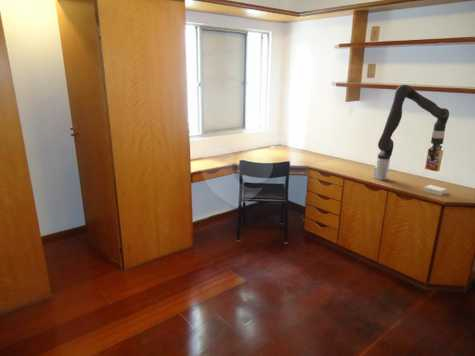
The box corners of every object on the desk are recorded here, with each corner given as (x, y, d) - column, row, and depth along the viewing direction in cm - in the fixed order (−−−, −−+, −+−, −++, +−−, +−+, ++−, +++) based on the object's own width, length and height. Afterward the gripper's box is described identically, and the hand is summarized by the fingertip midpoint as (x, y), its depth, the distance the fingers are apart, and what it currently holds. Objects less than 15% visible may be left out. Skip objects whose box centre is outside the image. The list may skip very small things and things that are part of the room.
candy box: (424, 169, 251) (427, 148, 247) (427, 168, 253) (431, 148, 249) (436, 171, 244) (440, 150, 240) (439, 171, 246) (443, 150, 242)
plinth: (422, 190, 252) (423, 186, 251) (429, 188, 258) (429, 184, 257) (440, 195, 243) (441, 191, 242) (445, 192, 249) (446, 188, 248)
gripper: (436, 135, 249) (432, 158, 253) (427, 137, 240) (423, 160, 245) (447, 136, 243) (443, 160, 248) (439, 138, 235) (434, 162, 239)
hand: (433, 160), depth 246 cm, fingers closed on candy box, 4 cm apart
